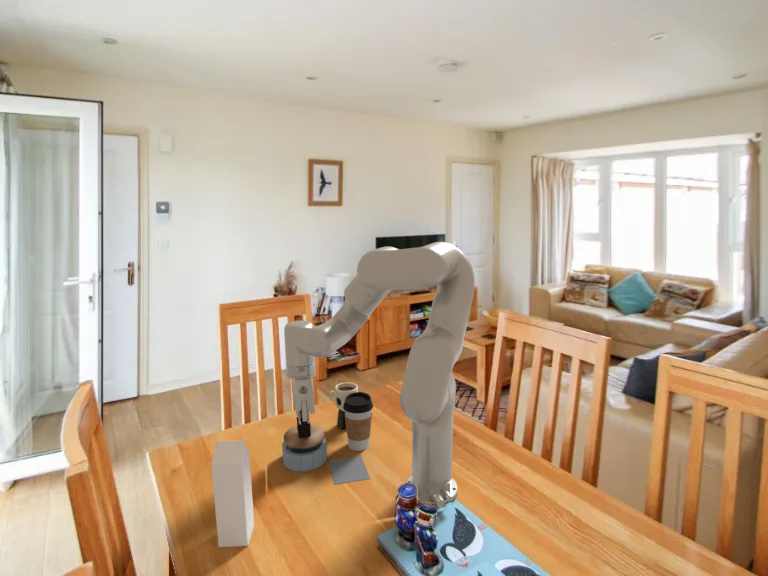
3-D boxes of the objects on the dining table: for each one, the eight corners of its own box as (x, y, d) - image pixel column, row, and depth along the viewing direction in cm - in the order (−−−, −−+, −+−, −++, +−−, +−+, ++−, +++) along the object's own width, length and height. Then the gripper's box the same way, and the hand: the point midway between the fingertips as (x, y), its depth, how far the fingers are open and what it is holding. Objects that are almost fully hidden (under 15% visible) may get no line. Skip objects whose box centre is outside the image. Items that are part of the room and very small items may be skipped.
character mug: (326, 429, 142) (325, 389, 140) (334, 418, 149) (333, 380, 146) (360, 433, 139) (359, 393, 137) (367, 422, 146) (366, 383, 144)
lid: (284, 451, 118) (283, 429, 116) (282, 431, 128) (281, 410, 127) (327, 445, 120) (326, 423, 119) (321, 425, 130) (321, 406, 129)
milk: (226, 527, 100) (218, 433, 96) (255, 526, 101) (248, 432, 96) (218, 548, 94) (209, 449, 90) (248, 546, 95) (240, 447, 90)
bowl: (329, 469, 121) (328, 451, 120) (284, 476, 118) (283, 458, 117) (323, 446, 132) (323, 430, 131) (282, 452, 129) (281, 436, 128)
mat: (370, 480, 116) (370, 478, 116) (334, 486, 114) (334, 484, 114) (361, 457, 127) (361, 455, 127) (328, 462, 124) (328, 460, 124)
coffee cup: (375, 439, 136) (374, 392, 133) (371, 455, 127) (371, 405, 125) (347, 438, 137) (345, 391, 134) (341, 454, 128) (340, 403, 125)
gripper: (319, 378, 113) (321, 447, 117) (312, 356, 129) (314, 418, 132) (288, 381, 112) (291, 451, 115) (284, 359, 127) (288, 421, 131)
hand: (304, 433), depth 124 cm, fingers closed on lid, 2 cm apart
